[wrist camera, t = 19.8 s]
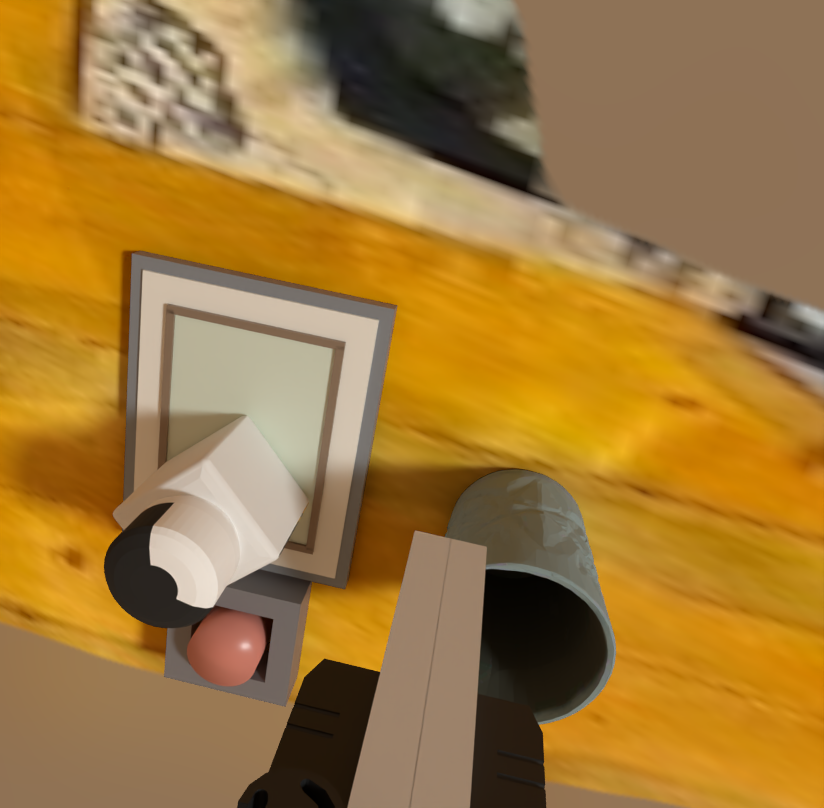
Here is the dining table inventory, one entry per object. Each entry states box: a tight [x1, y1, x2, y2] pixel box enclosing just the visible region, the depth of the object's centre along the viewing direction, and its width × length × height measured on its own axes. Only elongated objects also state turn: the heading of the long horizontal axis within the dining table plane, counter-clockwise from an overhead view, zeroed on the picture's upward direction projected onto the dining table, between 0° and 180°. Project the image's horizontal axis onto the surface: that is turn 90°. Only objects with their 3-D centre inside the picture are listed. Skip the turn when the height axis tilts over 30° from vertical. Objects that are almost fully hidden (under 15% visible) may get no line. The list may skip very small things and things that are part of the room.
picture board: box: [122, 251, 397, 589], centre depth 47 cm, size 16×20×2 cm
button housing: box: [164, 569, 312, 706], centre depth 52 cm, size 9×9×3 cm
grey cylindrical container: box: [445, 469, 616, 725], centre depth 42 cm, size 10×10×12 cm
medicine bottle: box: [104, 415, 309, 628], centre depth 42 cm, size 7×7×12 cm
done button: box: [187, 605, 273, 686], centre depth 51 cm, size 5×5×4 cm
